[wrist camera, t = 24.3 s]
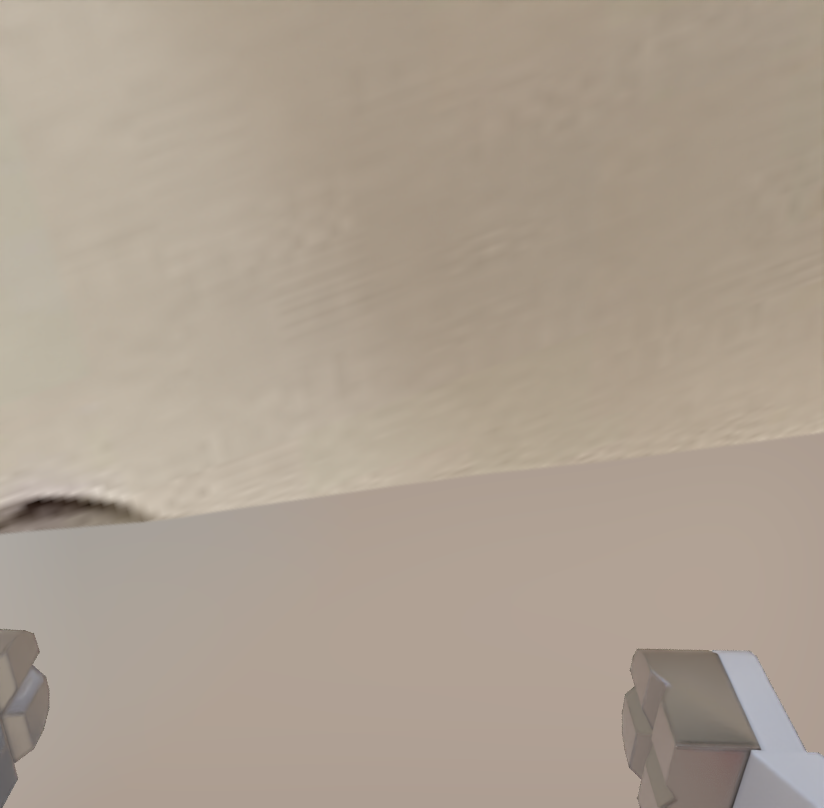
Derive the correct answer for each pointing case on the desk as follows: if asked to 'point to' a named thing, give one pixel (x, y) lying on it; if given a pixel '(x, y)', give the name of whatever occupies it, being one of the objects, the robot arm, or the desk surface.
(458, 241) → the desk surface
